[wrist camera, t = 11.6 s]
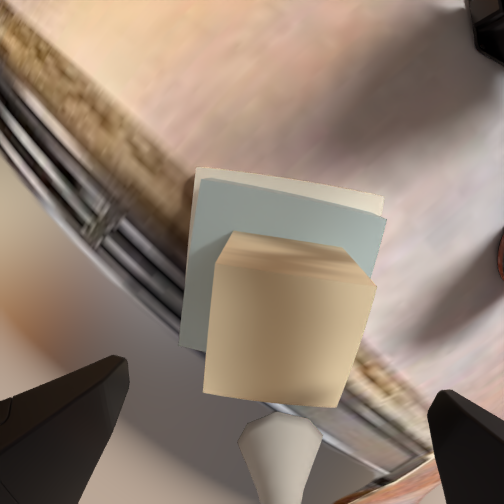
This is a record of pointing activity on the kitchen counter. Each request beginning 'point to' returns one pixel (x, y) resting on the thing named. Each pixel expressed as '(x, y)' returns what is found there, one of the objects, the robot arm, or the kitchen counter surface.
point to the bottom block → (288, 191)
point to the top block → (270, 224)
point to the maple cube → (284, 320)
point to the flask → (280, 455)
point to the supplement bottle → (501, 258)
